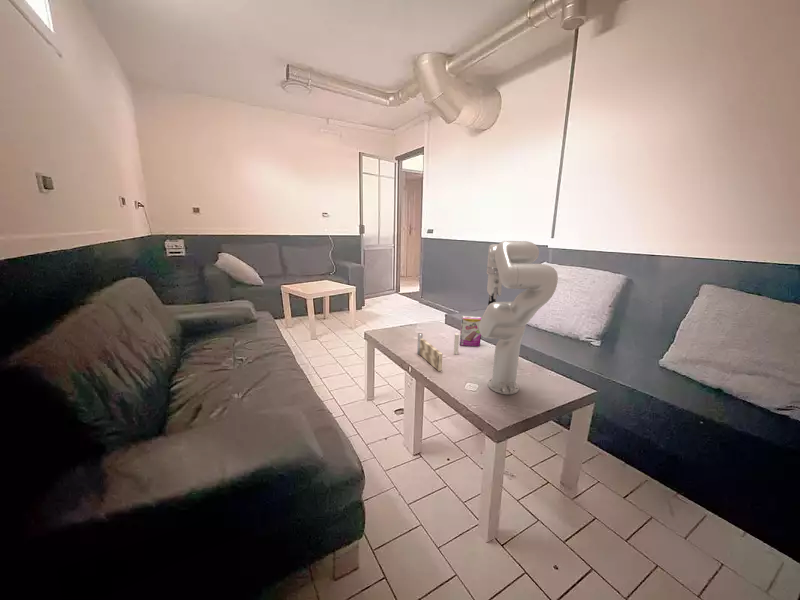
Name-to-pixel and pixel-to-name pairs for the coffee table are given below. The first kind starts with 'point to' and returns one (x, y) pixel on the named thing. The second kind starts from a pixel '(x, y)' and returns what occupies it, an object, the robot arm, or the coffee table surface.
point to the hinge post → (419, 342)
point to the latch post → (456, 343)
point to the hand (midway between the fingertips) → (491, 308)
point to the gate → (431, 354)
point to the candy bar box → (470, 331)
